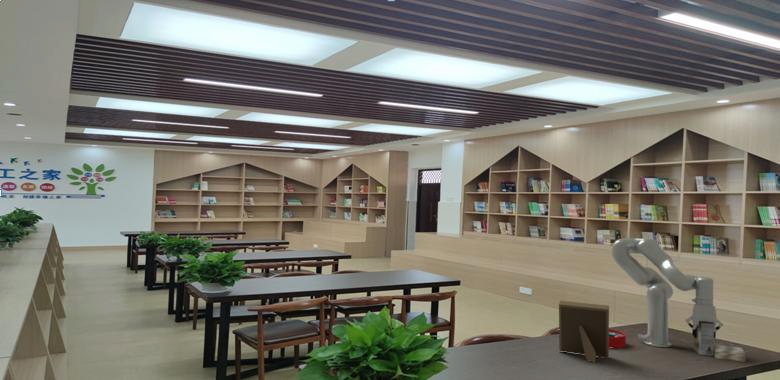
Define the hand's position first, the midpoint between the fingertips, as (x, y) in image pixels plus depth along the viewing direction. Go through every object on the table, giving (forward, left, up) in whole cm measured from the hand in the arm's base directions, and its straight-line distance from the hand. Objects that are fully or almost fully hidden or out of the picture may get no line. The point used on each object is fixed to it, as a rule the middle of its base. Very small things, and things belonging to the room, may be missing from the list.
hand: (703, 338), depth 260 cm
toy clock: (-45, -5, -8) cm, 46 cm away
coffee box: (0, 0, -8) cm, 8 cm away
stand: (+10, -2, -7) cm, 13 cm away
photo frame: (-54, -39, -8) cm, 67 cm away
